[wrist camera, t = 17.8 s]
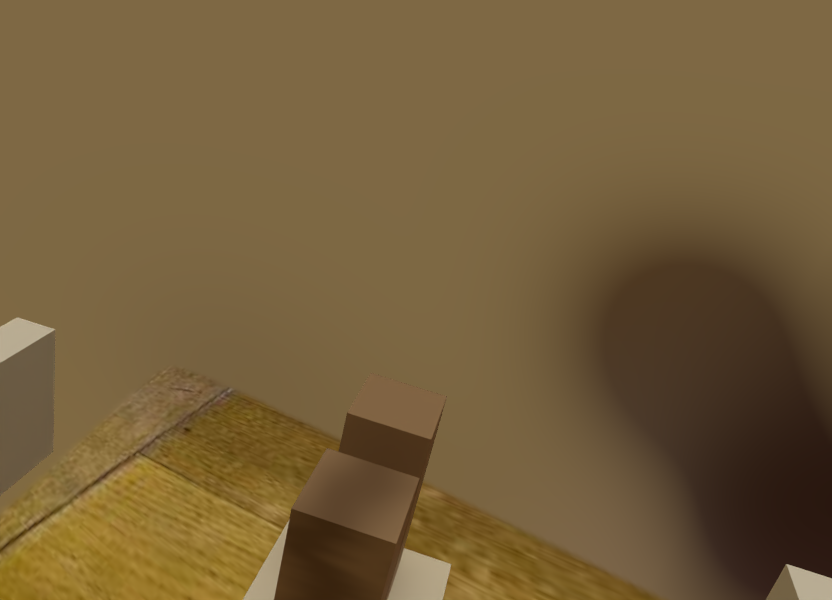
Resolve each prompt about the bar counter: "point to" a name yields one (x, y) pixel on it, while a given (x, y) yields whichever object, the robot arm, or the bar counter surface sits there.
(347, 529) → the walnut pillar
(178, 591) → the bar counter surface
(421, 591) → the base board
